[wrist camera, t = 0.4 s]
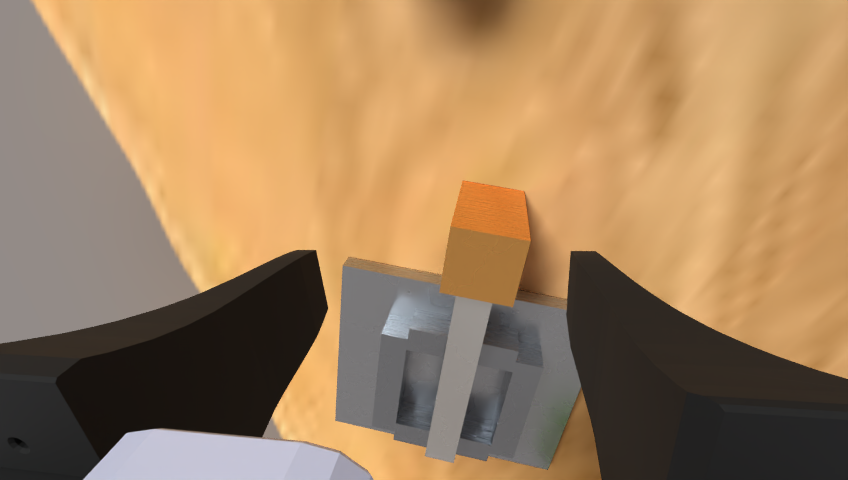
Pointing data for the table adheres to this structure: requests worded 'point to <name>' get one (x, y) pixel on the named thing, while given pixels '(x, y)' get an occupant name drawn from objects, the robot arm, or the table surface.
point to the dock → (423, 357)
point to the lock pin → (475, 295)
